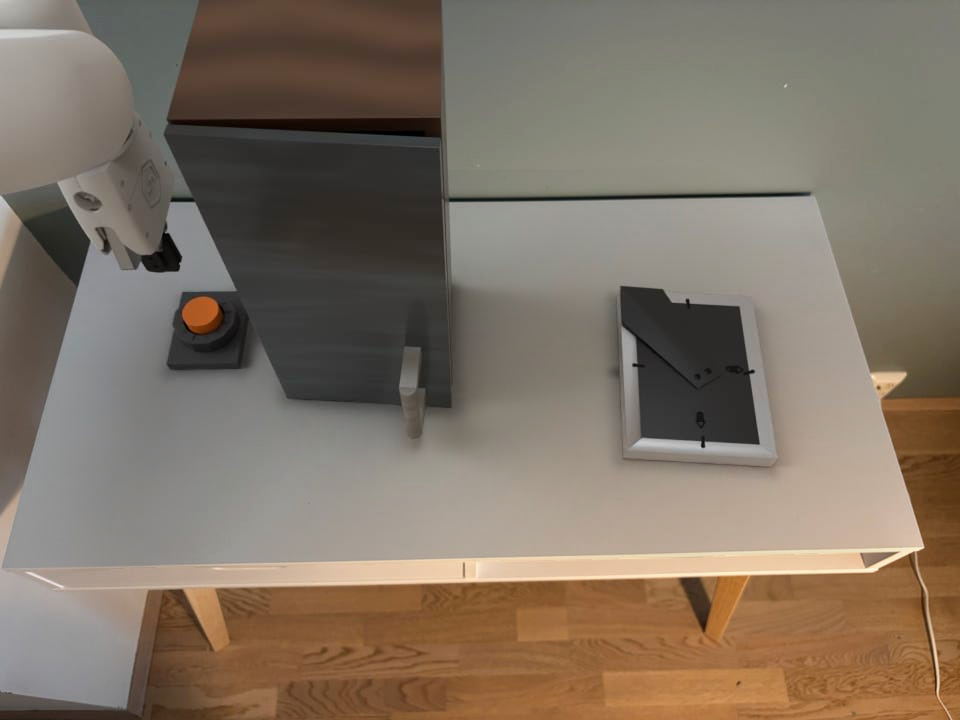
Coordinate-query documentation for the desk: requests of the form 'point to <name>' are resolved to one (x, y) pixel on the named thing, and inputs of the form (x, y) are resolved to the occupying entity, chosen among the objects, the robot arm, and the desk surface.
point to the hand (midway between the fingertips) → (165, 265)
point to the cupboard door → (332, 256)
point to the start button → (202, 315)
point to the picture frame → (692, 379)
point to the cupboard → (319, 72)
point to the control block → (210, 335)
